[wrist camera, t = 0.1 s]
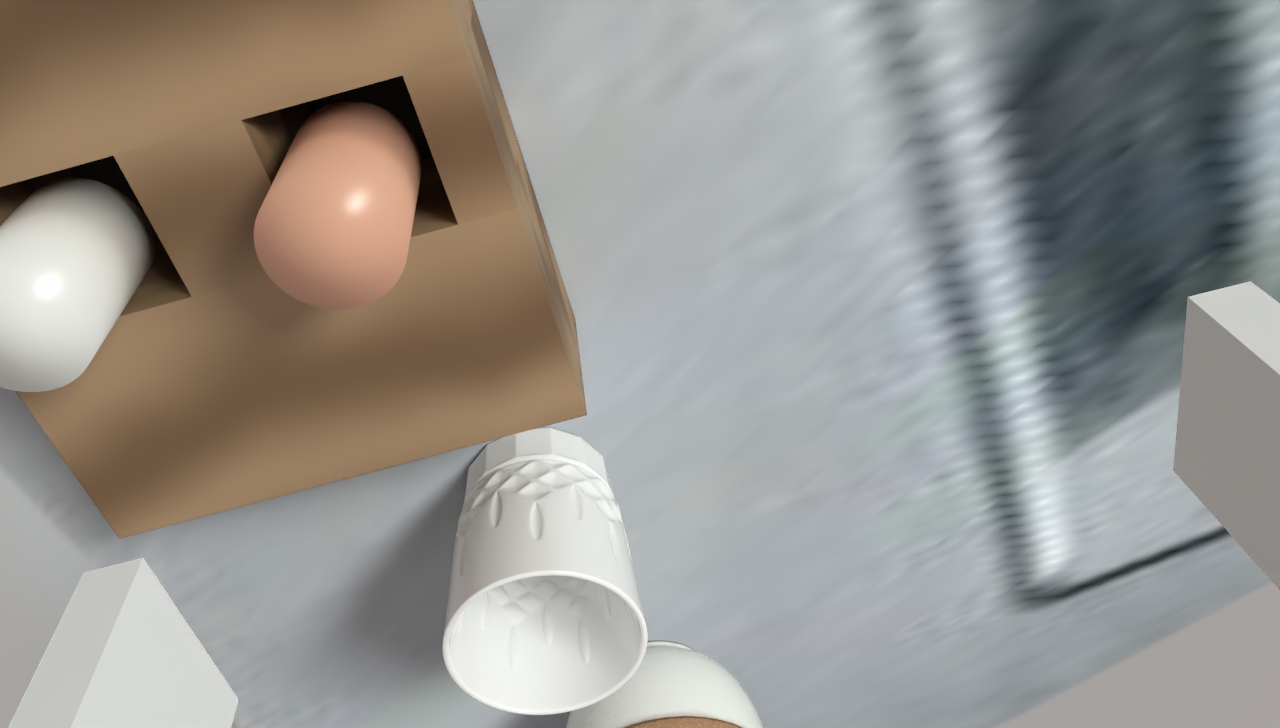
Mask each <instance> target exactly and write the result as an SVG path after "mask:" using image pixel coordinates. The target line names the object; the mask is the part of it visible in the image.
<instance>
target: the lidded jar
mask: <svg viewBox="0 0 1280 728" xmlns="http://www.w3.org/2000/svg"><path fill="white" fill-rule="evenodd" d="M566 728H763V726H762V723H761V721H760V719H759V716H758V714H757V712H756V709H755V707H754V705H753V704H752V702H751V700H750V698H749V697H748V695H747V693H746V692H745V690H744V689H743V687H742V686H741V684H740V683H739V682H738V681H737V680H736V679H735V677H734V676H733V675H732V674H731V673H730V672H729V671H728V670H727V669H725V668H724V667H723V666H721V665H720V664H719V663H717V662H716V661H714V660H713V659H711V658H709V657H707V656H705V655H703V654H701V653H698V652H696V651H694V650H693V649H691V648H689V647H687V646H685V645H682V644H679V643H675V642H670V641H649V642H647V648H646V652H645V655H644V658H643V660H642V662H641V664H640V666H639V667H638V669H637V670H636V672H635V673H634V675H633V676H632V677H631V678H630V679H629V680H628V681H627V682H626V683H625V684H624V685H623V686H622V687H621V688H619V689H618V690H617V691H615V692H614V693H613V694H611V695H609V696H608V697H606V698H604V699H602V700H600V701H598V702H596V703H594V704H592V705H589V706H587V707H584V708H581V709H577V710H574V711H570V714H569V716H568V720H567V724H566Z"/></svg>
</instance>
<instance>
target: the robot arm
mask: <svg viewBox="0 0 1280 728" xmlns="http://www.w3.org/2000/svg"><path fill="white" fill-rule="evenodd" d="M1173 470H1174V472H1175V473H1176V474H1177V475H1178V476H1179V477H1180V478H1181V479H1182V481H1183V482H1184V483H1185V484H1186V485H1187V486H1188V487H1189V488H1190V490H1191V491H1192V492H1193V493H1194V494H1195V495H1196V496H1197V497H1198V499H1199V500H1200V501H1201V502H1202V503H1203V504H1204V505H1205V506H1206V508H1207V509H1208V510H1209V511H1210V512H1211V513H1212V514H1213V515H1214V517H1215V518H1216V519H1217V520H1218V521H1219V522H1220V523H1221V524H1222V526H1223V527H1224V528H1225V529H1226V530H1227V531H1228V532H1229V533H1230V535H1231V536H1232V537H1233V538H1234V539H1235V540H1236V541H1237V542H1238V544H1239V545H1240V546H1241V547H1242V548H1243V549H1244V550H1245V551H1246V553H1247V554H1248V555H1249V556H1250V557H1251V558H1252V559H1253V560H1254V561H1255V563H1256V564H1257V565H1258V566H1259V567H1260V568H1261V569H1262V570H1263V572H1264V573H1265V574H1266V575H1267V576H1268V577H1269V578H1270V579H1271V581H1272V582H1273V583H1274V584H1275V585H1276V586H1277V587H1278V588H1279V589H1280V303H1278V302H1277V301H1276V300H1274V299H1273V298H1272V297H1270V296H1269V295H1268V294H1266V293H1265V292H1264V291H1263V290H1261V289H1260V288H1259V287H1257V286H1256V285H1255V284H1253V283H1252V282H1251V281H1250V282H1246V283H1242V284H1238V285H1234V286H1230V287H1226V288H1222V289H1218V290H1214V291H1210V292H1206V293H1202V294H1198V295H1194V296H1190V297H1188V302H1187V314H1186V326H1185V338H1184V350H1183V362H1182V373H1181V385H1180V397H1179V409H1178V421H1177V433H1176V444H1175V456H1174V468H1173ZM238 700H239V699H238V698H237V696H236V695H235V693H234V692H233V690H232V689H231V688H230V686H229V685H228V683H227V682H226V680H225V679H224V677H223V676H222V674H221V673H220V671H219V670H218V668H217V667H216V665H215V664H214V662H213V661H212V659H211V658H210V656H209V655H208V653H207V652H206V650H205V649H204V647H203V646H202V644H201V643H200V641H199V640H198V638H197V637H196V636H195V634H194V633H193V631H192V630H191V628H190V627H189V625H188V624H187V622H186V621H185V619H184V618H183V616H182V615H181V613H180V612H179V610H178V609H177V607H176V606H175V604H174V603H173V601H172V600H171V598H170V597H169V595H168V594H167V592H166V591H165V589H164V588H163V587H162V585H161V584H160V582H159V581H158V579H157V578H156V576H155V575H154V573H153V572H152V570H151V569H150V567H149V566H148V564H147V563H146V561H145V560H144V558H139V559H135V560H131V561H127V562H123V563H119V564H115V565H111V566H107V567H103V568H99V569H95V570H91V571H87V572H84V573H83V575H82V577H81V579H80V581H79V583H78V585H77V587H76V589H75V591H74V593H73V595H72V597H71V599H70V601H69V604H68V605H67V608H66V609H65V612H64V614H63V616H62V618H61V620H60V622H59V624H58V626H57V628H56V630H55V632H54V634H53V636H52V638H51V640H50V643H49V644H48V646H47V648H46V651H45V653H44V655H43V657H42V659H41V661H40V663H39V665H38V667H37V669H36V671H35V673H34V675H33V677H32V679H31V681H30V683H29V685H28V687H27V689H26V692H25V694H24V696H23V698H22V700H21V702H20V704H19V706H18V708H17V710H16V712H15V714H14V716H13V718H12V721H11V722H10V724H9V727H8V728H231V726H232V723H233V719H234V715H235V711H236V708H237V704H238Z"/></svg>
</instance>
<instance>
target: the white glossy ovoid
mask: <svg viewBox="0 0 1280 728" xmlns="http://www.w3.org/2000/svg"><path fill="white" fill-rule="evenodd" d="M155 250H156V249H155V237H154V233H153V230H152V227H151V225H150V223H149V221H148V219H147V217H146V216H145V214H144V213H143V212H142V210H141V209H140V208H139V207H138V206H137V205H136V204H135V203H134V202H133V201H132V200H131V199H130V198H129V197H127V196H126V195H125V194H123V193H122V192H120V191H118V190H117V189H115V188H113V187H111V186H109V185H107V184H104V183H101V182H98V181H94V180H91V179H84V178H63V179H58V180H54V181H51V182H48V183H46V184H44V185H42V186H40V187H39V188H38V189H36V190H35V191H34V192H33V193H32V194H31V195H30V196H29V197H28V198H27V199H26V200H25V201H24V202H23V203H22V204H21V205H20V206H19V207H18V208H17V209H16V210H15V211H14V212H13V213H12V214H11V215H10V216H9V217H8V218H7V219H6V221H5V222H4V223H3V224H2V225H1V226H0V387H1V388H4V389H9V390H13V391H21V392H43V391H49V390H54V389H57V388H60V387H63V386H65V385H67V384H69V383H71V382H72V381H74V380H75V379H77V378H78V377H79V376H80V375H81V374H82V373H83V372H84V371H85V369H86V368H87V367H88V365H89V364H90V362H91V360H92V359H93V357H94V356H95V354H96V352H97V351H98V349H99V348H100V346H101V345H102V343H103V341H104V340H105V338H106V337H107V335H108V334H109V332H110V330H111V329H112V327H113V326H114V324H115V323H116V321H117V319H118V318H119V316H120V315H121V313H122V311H123V310H124V308H125V307H126V305H127V304H128V302H129V300H130V299H131V297H132V296H133V294H134V293H135V291H136V289H137V288H138V286H139V285H140V283H141V281H142V280H143V278H144V277H145V275H146V274H147V272H148V270H149V269H150V267H151V265H152V263H153V260H154V257H155Z"/></svg>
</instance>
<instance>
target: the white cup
mask: <svg viewBox="0 0 1280 728" xmlns="http://www.w3.org/2000/svg"><path fill="white" fill-rule="evenodd" d="M647 640H648V634H647V627H646V622H645V618H644V613H643V609H642V604H641V600H640V595H639V591H638V586H637V582H636V577H635V572H634V568H633V563H632V558H631V554H630V549H629V545H628V540H627V536H626V532H625V528H624V525H623V522H622V518H621V514H620V509H619V506H618V503H617V502H616V500H615V498H614V493H613V488H612V483H611V480H610V477H609V474H608V471H607V468H606V465H605V462H604V459H603V457H602V455H601V454H599V453H598V452H597V451H596V450H595V449H594V448H593V447H591V446H590V445H589V444H588V443H587V442H586V441H585V440H583V439H582V438H581V437H579V436H576V435H573V434H569V433H566V432H563V431H559V430H556V429H552V428H539V429H532V430H528V431H525V432H521V433H517V434H513V435H509V436H506V437H502V438H500V439H498V440H496V441H494V442H492V443H490V444H488V445H487V446H486V447H485V448H484V449H483V451H482V452H481V453H480V454H479V456H478V457H477V458H476V459H475V460H474V462H473V463H472V464H471V465H470V467H469V469H468V475H467V482H466V489H465V496H464V504H463V509H462V512H461V514H460V516H459V520H458V529H457V534H456V538H455V545H454V554H453V562H452V571H451V579H450V586H449V594H448V602H447V611H446V619H445V627H444V635H443V643H442V653H443V659H444V663H445V666H446V668H447V670H448V672H449V674H450V676H451V677H452V679H453V680H454V682H455V683H456V684H457V685H458V686H459V687H460V688H461V689H462V690H463V691H464V692H465V693H467V694H468V695H469V696H471V697H472V698H474V699H476V700H477V701H479V702H481V703H483V704H485V705H487V706H490V707H493V708H495V709H499V710H502V711H506V712H511V713H516V714H524V715H550V714H559V713H565V712H570V711H574V710H577V709H581V708H584V707H587V706H589V705H592V704H594V703H596V702H598V701H600V700H602V699H604V698H606V697H608V696H609V695H611V694H613V693H614V692H615V691H617V690H618V689H619V688H621V687H622V686H623V685H624V684H625V683H626V682H627V681H628V680H629V679H630V678H631V677H632V676H633V675H634V673H635V672H636V670H637V669H638V667H639V666H640V664H641V662H642V660H643V658H644V655H645V652H646V648H647Z"/></svg>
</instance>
